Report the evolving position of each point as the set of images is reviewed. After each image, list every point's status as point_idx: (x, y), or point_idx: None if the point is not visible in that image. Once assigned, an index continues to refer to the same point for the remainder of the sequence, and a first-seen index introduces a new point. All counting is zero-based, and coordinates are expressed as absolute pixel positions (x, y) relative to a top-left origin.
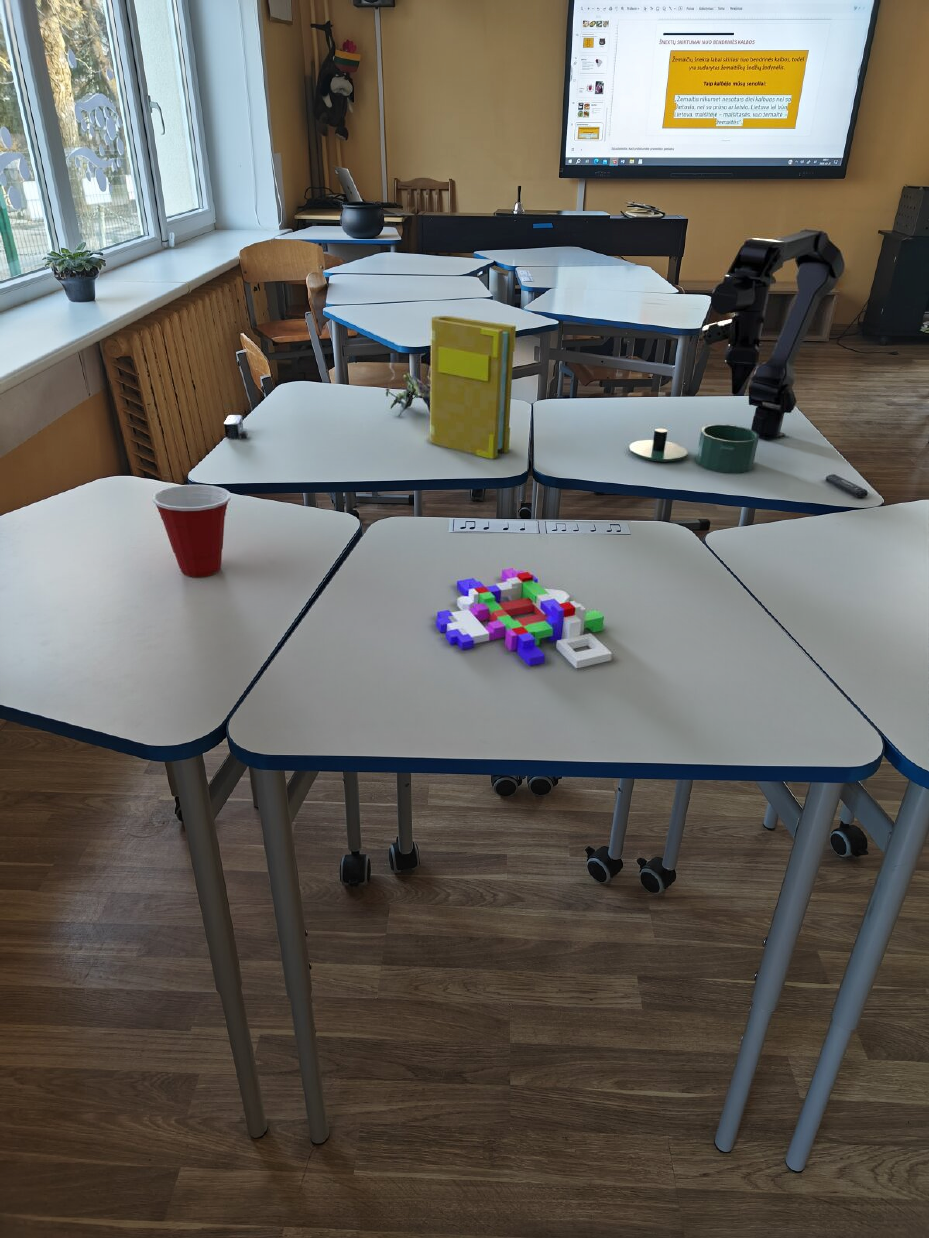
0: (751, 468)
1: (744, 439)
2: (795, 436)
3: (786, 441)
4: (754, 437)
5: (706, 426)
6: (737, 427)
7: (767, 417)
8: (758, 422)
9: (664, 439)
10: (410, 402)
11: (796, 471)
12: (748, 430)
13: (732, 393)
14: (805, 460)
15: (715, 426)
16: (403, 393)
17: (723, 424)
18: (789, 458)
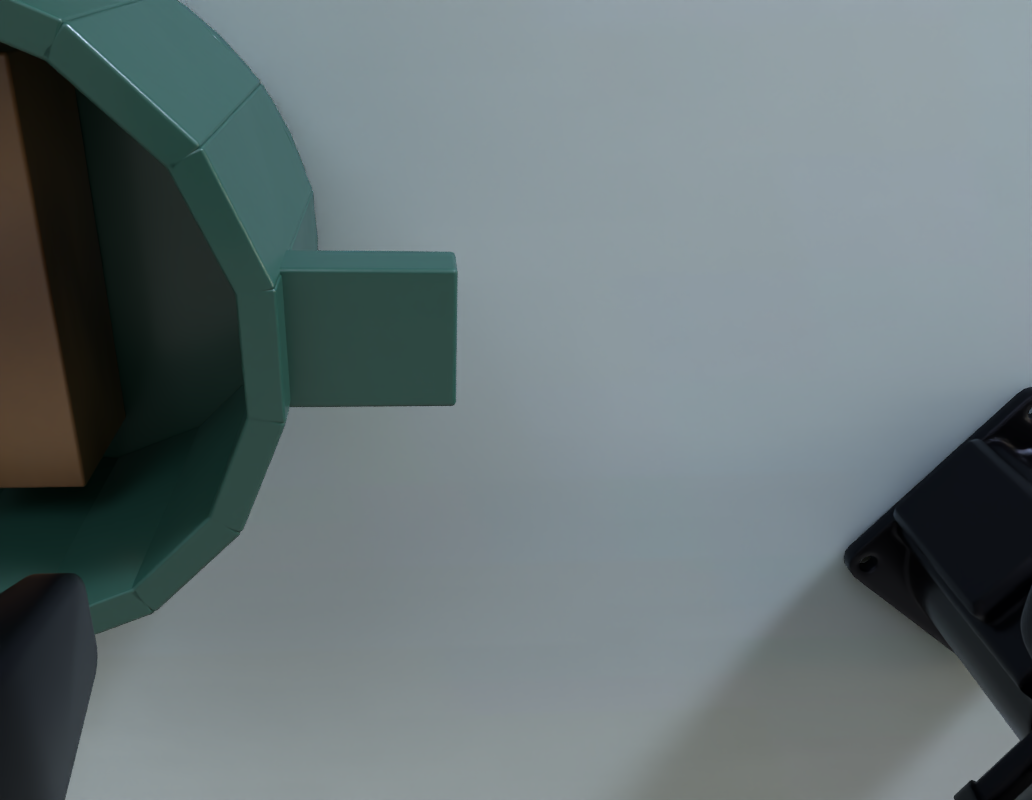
0: None
1: (213, 468)
2: (999, 716)
3: (865, 669)
4: None
5: (10, 17)
6: (239, 433)
7: (987, 646)
8: (980, 546)
9: None
10: None
11: (164, 743)
12: (173, 551)
13: (31, 582)
14: (450, 782)
15: (159, 154)
16: None
17: (253, 264)
18: (452, 697)
